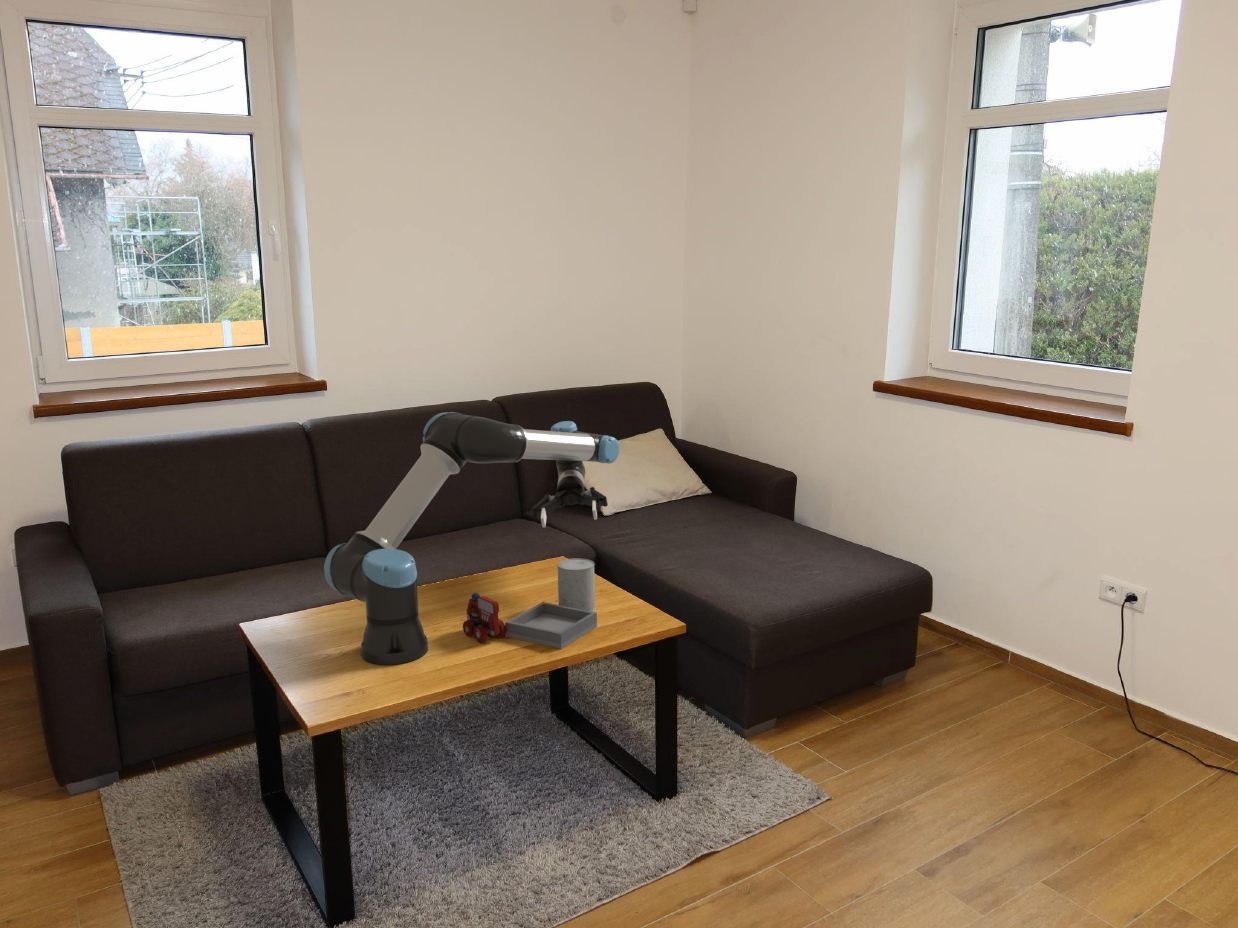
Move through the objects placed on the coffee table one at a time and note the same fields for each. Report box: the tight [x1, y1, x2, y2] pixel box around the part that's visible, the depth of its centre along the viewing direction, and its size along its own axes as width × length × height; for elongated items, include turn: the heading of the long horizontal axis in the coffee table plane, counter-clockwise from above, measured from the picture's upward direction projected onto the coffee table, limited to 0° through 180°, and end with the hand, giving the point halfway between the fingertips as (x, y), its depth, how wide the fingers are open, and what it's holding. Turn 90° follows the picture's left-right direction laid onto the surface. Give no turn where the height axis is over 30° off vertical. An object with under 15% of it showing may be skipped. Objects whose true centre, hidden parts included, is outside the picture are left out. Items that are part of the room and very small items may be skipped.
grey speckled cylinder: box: [556, 558, 596, 612], centre depth 250 cm, size 10×10×12 cm
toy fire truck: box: [462, 592, 506, 644], centre depth 233 cm, size 7×12×10 cm, turn 40°
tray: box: [504, 601, 598, 650], centre depth 236 cm, size 16×16×4 cm
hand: (568, 518), depth 252 cm, fingers open, 13 cm apart
